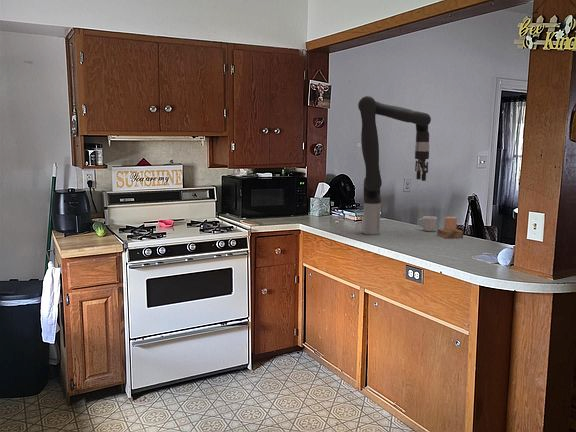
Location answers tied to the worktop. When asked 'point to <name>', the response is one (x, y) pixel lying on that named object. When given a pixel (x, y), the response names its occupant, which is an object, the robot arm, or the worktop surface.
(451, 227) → the terracotta block
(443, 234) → the walnut block
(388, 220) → the worktop surface
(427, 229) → the cup
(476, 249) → the worktop surface
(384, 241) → the worktop surface
